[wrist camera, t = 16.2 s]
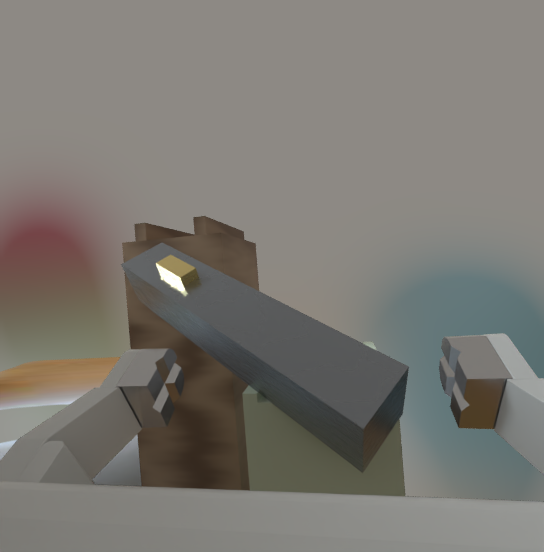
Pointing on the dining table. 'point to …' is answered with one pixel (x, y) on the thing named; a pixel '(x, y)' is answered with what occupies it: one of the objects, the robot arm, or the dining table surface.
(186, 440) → the tall walnut block
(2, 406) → the dining table surface
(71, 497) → the robot arm
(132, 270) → the steel bar
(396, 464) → the low sage block
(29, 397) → the dining table surface
